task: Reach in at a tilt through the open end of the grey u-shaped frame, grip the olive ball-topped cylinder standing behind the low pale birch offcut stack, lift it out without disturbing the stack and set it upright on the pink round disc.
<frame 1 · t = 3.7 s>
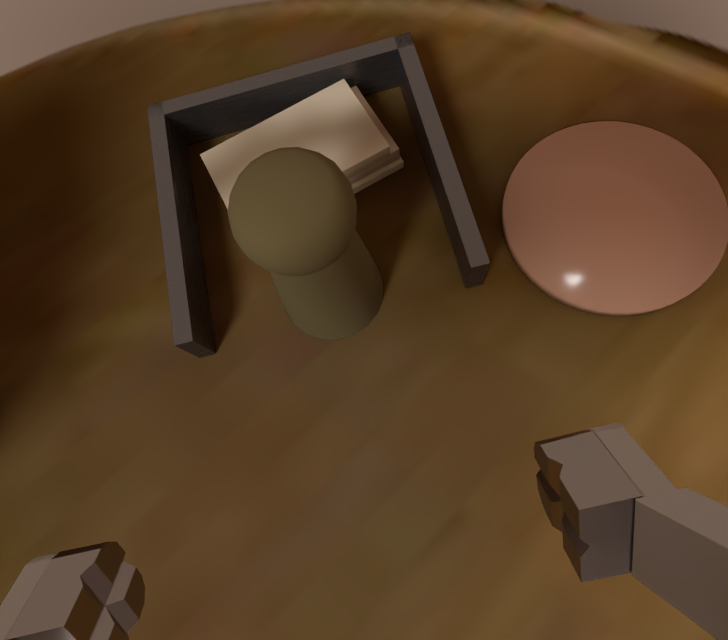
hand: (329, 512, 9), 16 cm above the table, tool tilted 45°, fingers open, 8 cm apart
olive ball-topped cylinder: (333, 291, 28), on the table
grey u-shaped frame: (303, 164, 31), on the table
pink round disc: (607, 217, 28), on the table
offcut stack: (308, 176, 31), on the table
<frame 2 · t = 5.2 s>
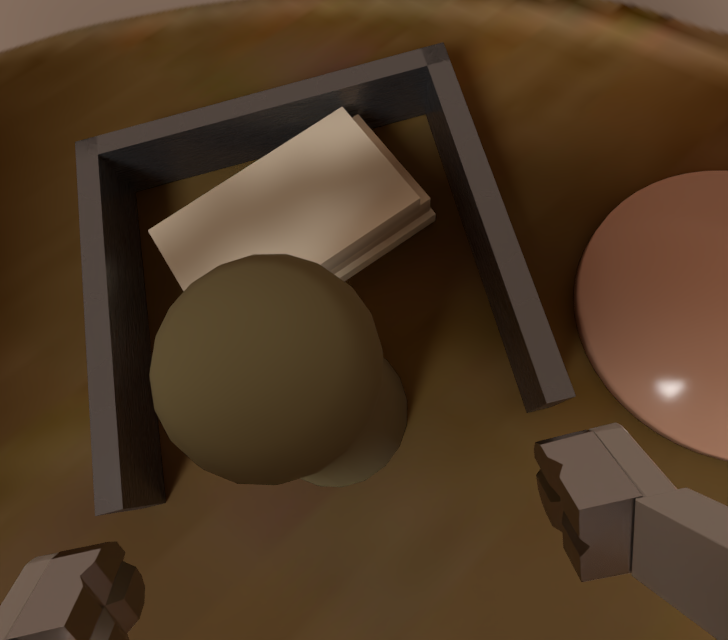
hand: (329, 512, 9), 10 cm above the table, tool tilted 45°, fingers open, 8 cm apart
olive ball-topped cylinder: (335, 410, 20), on the table
grey u-shaped frame: (294, 222, 23), on the table
pink round disc: (727, 310, 19), on the table
offcut stack: (303, 242, 23), on the table
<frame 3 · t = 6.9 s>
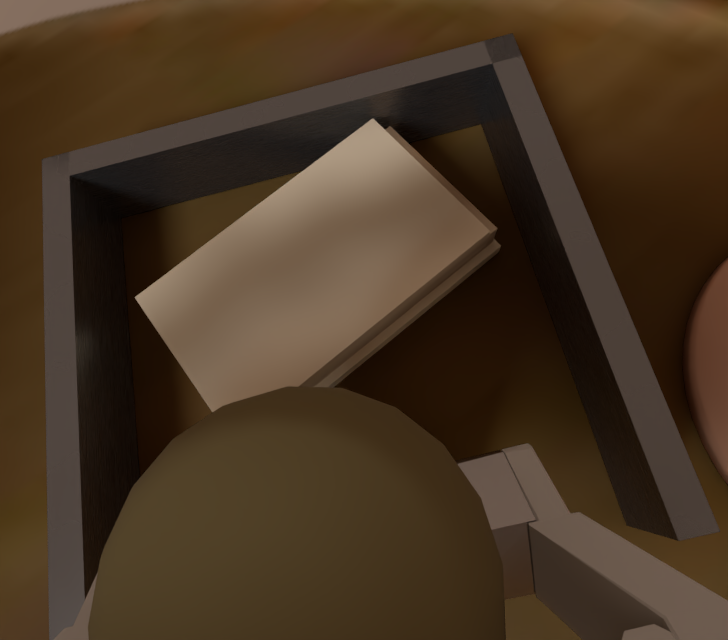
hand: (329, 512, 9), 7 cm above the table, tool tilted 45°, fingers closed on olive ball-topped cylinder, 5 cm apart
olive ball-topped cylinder: (371, 512, 15), on the table, touching gripper
grey u-shaped frame: (316, 260, 18), on the table
offcut stack: (332, 291, 18), on the table
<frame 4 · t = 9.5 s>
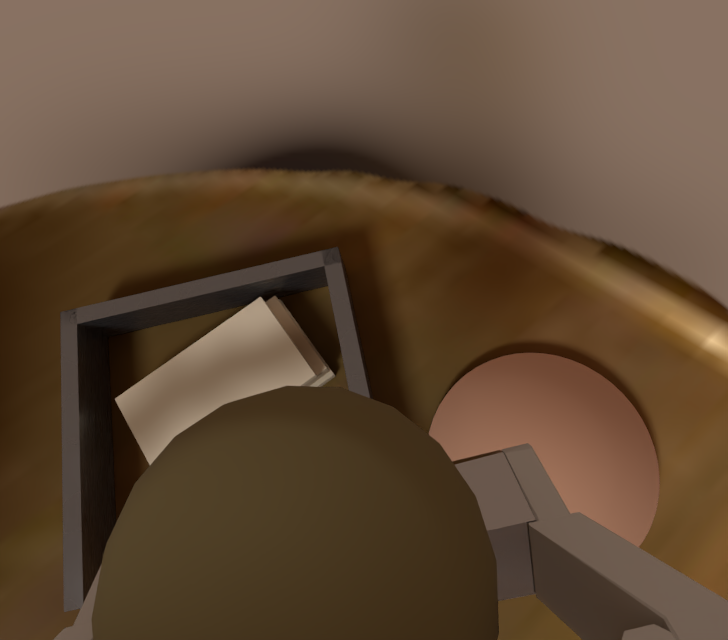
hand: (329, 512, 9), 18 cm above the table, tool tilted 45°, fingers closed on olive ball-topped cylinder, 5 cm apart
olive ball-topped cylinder: (369, 510, 16), point 12 cm above the table, touching gripper
grey u-shaped frame: (226, 370, 30), on the table
pink round disc: (535, 462, 26), on the table
offcut stack: (236, 391, 30), on the table
when the fingers open (9 cm above the table, at t = 12.3 s): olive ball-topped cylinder drops 1 cm, resting on pink round disc.
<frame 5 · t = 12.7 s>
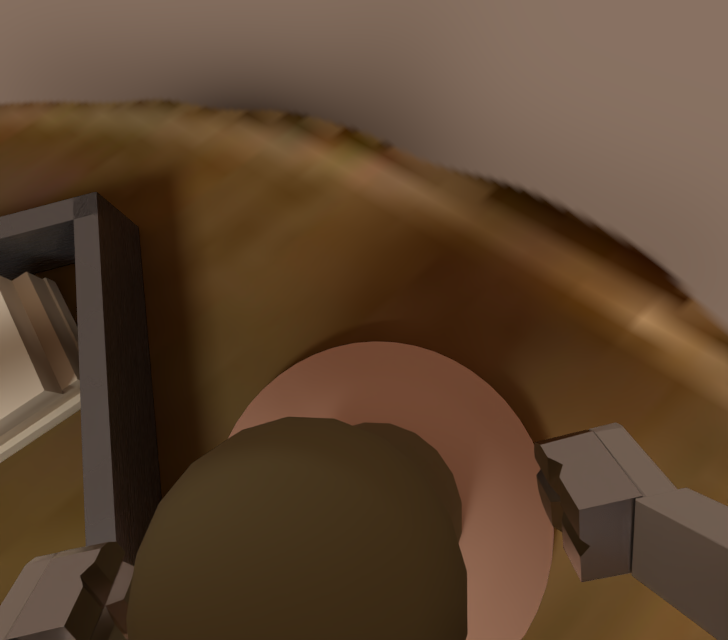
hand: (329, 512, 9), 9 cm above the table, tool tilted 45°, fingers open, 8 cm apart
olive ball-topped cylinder: (374, 510, 17), point 1 cm above the table, touching pink round disc
pink round disc: (376, 506, 17), on the table
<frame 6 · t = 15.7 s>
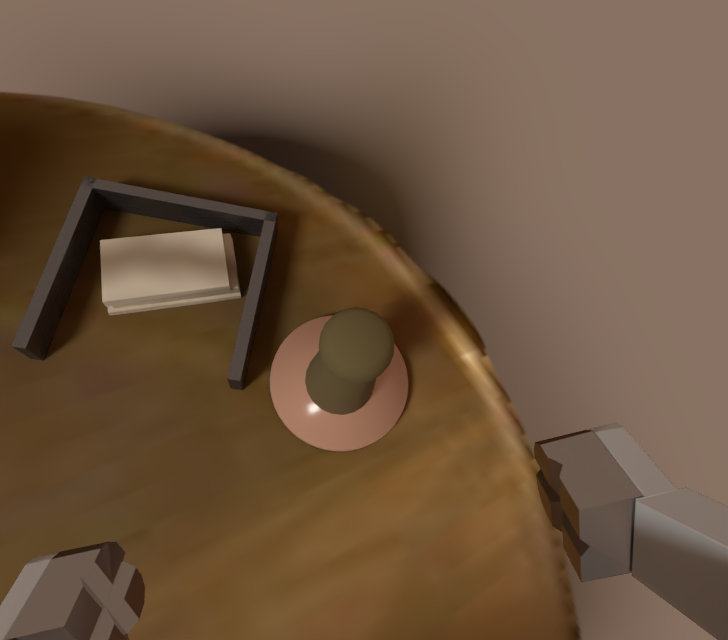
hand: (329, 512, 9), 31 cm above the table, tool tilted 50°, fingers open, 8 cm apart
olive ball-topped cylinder: (339, 380, 41), point 1 cm above the table, touching pink round disc
grey u-shaped frame: (174, 259, 44), on the table
pink round disc: (339, 381, 42), on the table
offcut stack: (175, 278, 44), on the table
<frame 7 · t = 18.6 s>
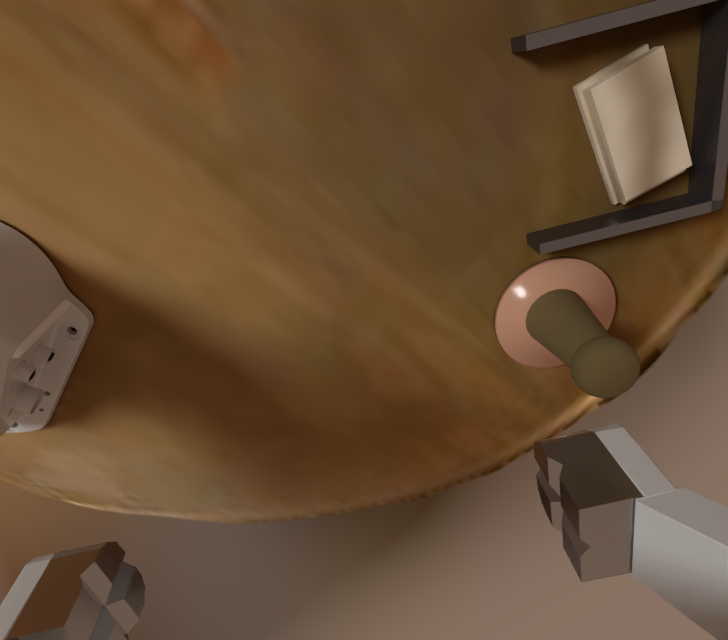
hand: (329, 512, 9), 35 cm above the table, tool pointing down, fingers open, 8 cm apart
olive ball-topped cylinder: (554, 315, 48), point 1 cm above the table, touching pink round disc
grey u-shaped frame: (648, 118, 40), on the table
pink round disc: (552, 313, 48), on the table
offcut stack: (623, 128, 41), on the table
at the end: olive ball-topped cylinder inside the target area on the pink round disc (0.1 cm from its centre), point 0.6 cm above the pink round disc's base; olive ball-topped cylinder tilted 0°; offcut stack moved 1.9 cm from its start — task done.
